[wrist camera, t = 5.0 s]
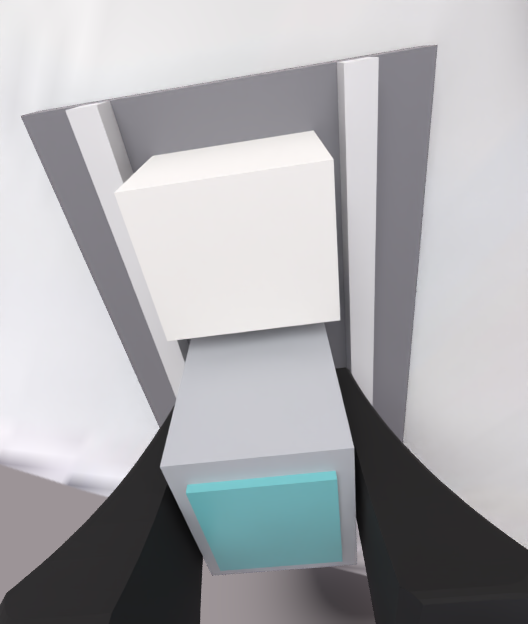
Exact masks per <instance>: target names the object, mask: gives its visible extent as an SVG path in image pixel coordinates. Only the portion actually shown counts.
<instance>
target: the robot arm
mask: <svg viewBox="0 0 528 624" xmlns="http://www.w3.org/2000/svg"><path fill="white" fill-rule="evenodd" d="M335 370H336V374H337V378H338V383H339V387H340V391H341V395H342V399H343V403H344V407H345V412H346V416H347V420H348V424H349V428H350V432H351V437H352V441H353V445H354V460H355V502H356V520H357V524H358V529H359V535H360V540H361V545H362V551H363V556H364V561H365V567H366V572H367V578H368V582H369V588H370V594H371V600H372V605H373V611H374V616H375V622H376V624H528V550H527V549H526V548H525V547H523V546H522V545H520V544H519V543H518V542H516V541H515V540H513V539H512V538H511V537H509V536H508V535H506V534H505V533H504V532H502V531H501V530H500V529H498V528H497V527H496V526H494V525H493V524H492V523H490V522H489V521H488V520H487V519H485V518H484V517H483V516H481V515H480V514H479V513H478V512H476V511H475V510H474V509H473V508H471V507H470V506H469V505H468V504H467V503H465V502H464V501H463V500H462V499H461V498H460V497H458V496H457V495H456V494H455V493H454V492H453V491H451V490H450V489H449V488H448V487H447V486H446V485H445V484H443V483H442V482H441V481H440V480H439V479H438V478H437V477H436V476H435V475H434V474H432V473H431V472H430V471H429V470H428V469H427V468H426V467H425V466H424V465H423V464H422V463H421V462H420V461H419V460H418V459H417V458H416V457H415V456H414V455H413V454H412V453H411V452H410V451H409V449H408V448H407V447H406V446H405V445H404V444H403V443H402V442H401V441H400V440H399V438H398V437H397V436H396V435H395V434H394V433H393V431H392V430H391V429H390V428H389V427H388V425H387V424H386V423H385V422H384V421H383V419H382V418H381V417H380V415H379V414H378V413H377V411H376V410H375V409H374V407H373V406H372V405H371V403H370V402H369V401H368V399H367V398H366V396H365V395H364V393H363V392H362V390H361V389H360V387H359V386H358V384H357V382H356V381H355V379H354V377H353V375H352V374H351V372H350V370H349V369H348V368H346V367H344V368H335ZM174 407H175V404H174V406H173V408H172V410H171V411H170V413H169V415H168V416H167V418H166V419H165V421H164V423H163V424H162V426H161V427H160V429H159V430H158V432H157V434H156V435H155V437H154V438H153V440H152V441H151V443H150V444H149V446H148V447H147V448H146V450H145V451H144V453H143V454H142V455H141V457H140V458H139V460H138V461H137V462H136V464H135V465H134V466H133V468H132V469H131V470H130V472H129V473H128V474H127V476H126V477H125V478H124V479H123V481H122V482H121V483H120V484H119V485H118V487H117V488H116V489H115V490H114V491H113V493H112V494H111V495H110V496H109V497H108V498H107V499H106V500H105V502H104V503H103V504H102V505H101V506H100V507H99V508H98V509H97V511H96V512H95V513H94V514H93V515H92V516H91V517H90V518H89V519H88V520H87V521H86V522H85V523H84V524H83V525H82V526H81V527H80V528H79V529H78V530H77V531H76V532H75V533H74V534H73V535H72V536H71V537H70V538H69V539H68V540H67V541H66V542H65V543H64V544H63V545H62V546H61V547H60V548H58V549H57V550H56V551H55V552H54V553H53V554H52V555H51V556H50V557H49V558H48V559H46V560H45V561H44V562H43V563H42V564H41V565H39V566H38V567H37V568H36V569H35V570H34V571H32V572H31V573H30V574H29V575H28V576H26V577H25V578H24V579H23V580H22V581H21V582H19V583H18V584H17V585H16V586H15V587H13V588H12V589H11V590H10V591H8V592H7V593H6V595H5V597H4V599H3V601H2V603H1V604H0V624H200V606H201V584H202V583H201V582H202V564H203V556H202V553H201V551H200V549H199V547H198V545H197V543H196V541H195V539H194V537H193V535H192V533H191V531H190V529H189V526H188V524H187V522H186V520H185V518H184V516H183V514H182V512H181V510H180V508H179V506H178V504H177V501H176V499H175V497H174V495H173V493H172V491H171V489H170V487H169V485H168V483H167V481H166V479H165V477H164V474H163V472H162V470H161V468H160V464H161V460H162V456H163V452H164V448H165V444H166V440H167V436H168V432H169V427H170V423H171V419H172V415H173V411H174Z"/></svg>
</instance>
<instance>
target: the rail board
mask: <svg viewBox="0 0 528 624" xmlns="http://www.w3.org/2000/svg"><path fill="white" fill-rule="evenodd" d="M436 56H437V45H428V46H419V47H413V48H407V49H401V50H395V51H389V52H384V53H378V54H372V55H366V56H360V57H354V58H348V59H342V60H337V61H331V62H325V63H319V64H313V65H307V66H301V67H296V68H290V69H284V70H278V71H272V72H266V73H260V74H254V75H249V76H243V77H237V78H231V79H225V80H219V81H213V82H208V83H202V84H196V85H190V86H184V87H178V88H172V89H166V90H161V91H155V92H149V93H143V94H137V95H131V96H125V97H119V98H114V99H108V100H102V101H96V102H90V103H84V104H78V105H73V106H67V107H61V108H55V109H49V110H43V111H38V112H34V113H30V114H26V115H23V116H21V118H22V120H23V122H24V124H25V127H26V129H27V131H28V133H29V136H30V138H31V140H32V142H33V145H34V147H35V149H36V151H37V154H38V156H39V158H40V160H41V163H42V165H43V167H44V169H45V172H46V174H47V176H48V178H49V181H50V183H51V185H52V187H53V190H54V192H55V194H56V196H57V198H58V201H59V203H60V205H61V207H62V210H63V212H64V214H65V216H66V219H67V221H68V223H69V225H70V228H71V230H72V232H73V234H74V237H75V239H76V241H77V243H78V246H79V248H80V250H81V252H82V255H83V257H84V259H85V261H86V264H87V266H88V268H89V270H90V273H91V275H92V277H93V279H94V281H95V284H96V286H97V288H98V290H99V293H100V295H101V297H102V299H103V302H104V304H105V306H106V308H107V311H108V313H109V315H110V317H111V320H112V322H113V324H114V326H115V329H116V331H117V333H118V335H119V338H120V340H121V342H122V344H123V347H124V349H125V351H126V353H127V356H128V358H129V360H130V362H131V364H132V367H133V369H134V371H135V373H136V376H137V378H138V380H139V382H140V385H141V387H142V389H143V391H144V394H145V396H146V398H147V400H148V403H149V405H150V407H151V409H152V412H153V414H154V416H155V418H156V421H157V423H158V425H159V427H161V426H162V424H163V423H164V421H165V419H166V418H167V416H168V415H169V413H170V411H171V410H172V408H173V406H174V404H175V403H176V399H177V395H178V390H179V386H180V382H181V378H182V374H183V370H184V366H185V362H186V358H187V353H188V349H189V345H190V341H191V338H198V337H206V336H215V335H223V334H231V333H239V332H247V331H256V330H264V329H272V328H280V327H288V326H297V325H305V324H313V323H321V322H324V324H325V329H326V333H327V337H328V341H329V345H330V349H331V353H332V358H333V362H334V366H335V368H344V367H346V368H348V369H349V370H350V372H351V374H352V375H353V377H354V379H355V381H356V382H357V384H358V386H359V387H360V389H361V390H362V392H363V393H364V395H365V396H366V398H367V399H368V401H369V402H370V403H371V405H372V406H373V407H374V409H375V410H376V411H377V413H378V414H379V415H380V417H381V418H382V419H383V421H384V422H385V423H386V424H387V425H388V427H389V428H390V429H391V430H392V431H393V433H394V434H395V435H396V436H397V437H398V438H399V440H400V441H401V442H402V443H403V435H404V423H405V412H406V400H407V389H408V377H409V366H410V354H411V343H412V331H413V320H414V308H415V297H416V286H417V274H418V263H419V251H420V240H421V228H422V217H423V205H424V194H425V182H426V171H427V159H428V148H429V136H430V125H431V113H432V102H433V91H434V79H435V68H436Z"/></svg>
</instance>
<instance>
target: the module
mask: <svg viewBox="0 0 528 624" xmlns="http://www.w3.org/2000/svg"><path fill="white" fill-rule="evenodd" d="M160 468H161V470H162V472H163V474H164V477H165V479H166V481H167V483H168V485H169V487H170V489H171V491H172V493H173V495H174V497H175V499H176V501H177V504H178V506H179V508H180V510H181V512H182V514H183V516H184V518H185V520H186V522H187V524H188V526H189V529H190V531H191V533H192V535H193V537H194V539H195V541H196V543H197V545H198V547H199V549H200V551H201V553H202V556H203V558H204V560H205V562H206V564H207V566H208V568H209V570H210V572H211V574H212V575H226V574H238V573H252V572H265V571H278V570H291V569H304V568H317V567H330V566H343V565H357V545H356V502H355V460H354V445H353V441H352V437H351V432H350V428H349V424H348V420H347V416H346V412H345V407H344V403H343V399H342V395H341V391H340V387H339V383H338V378H337V374H336V370H335V366H334V362H333V358H332V353H331V349H330V345H329V341H328V337H327V333H326V329H325V324H324V322H321V323H313V324H305V325H297V326H288V327H280V328H272V329H264V330H256V331H247V332H239V333H231V334H223V335H215V336H206V337H198V338H191V341H190V345H189V349H188V353H187V358H186V362H185V366H184V370H183V374H182V378H181V382H180V386H179V390H178V395H177V399H176V403H175V407H174V411H173V415H172V419H171V423H170V427H169V432H168V436H167V440H166V444H165V448H164V452H163V456H162V460H161V464H160Z"/></svg>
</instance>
